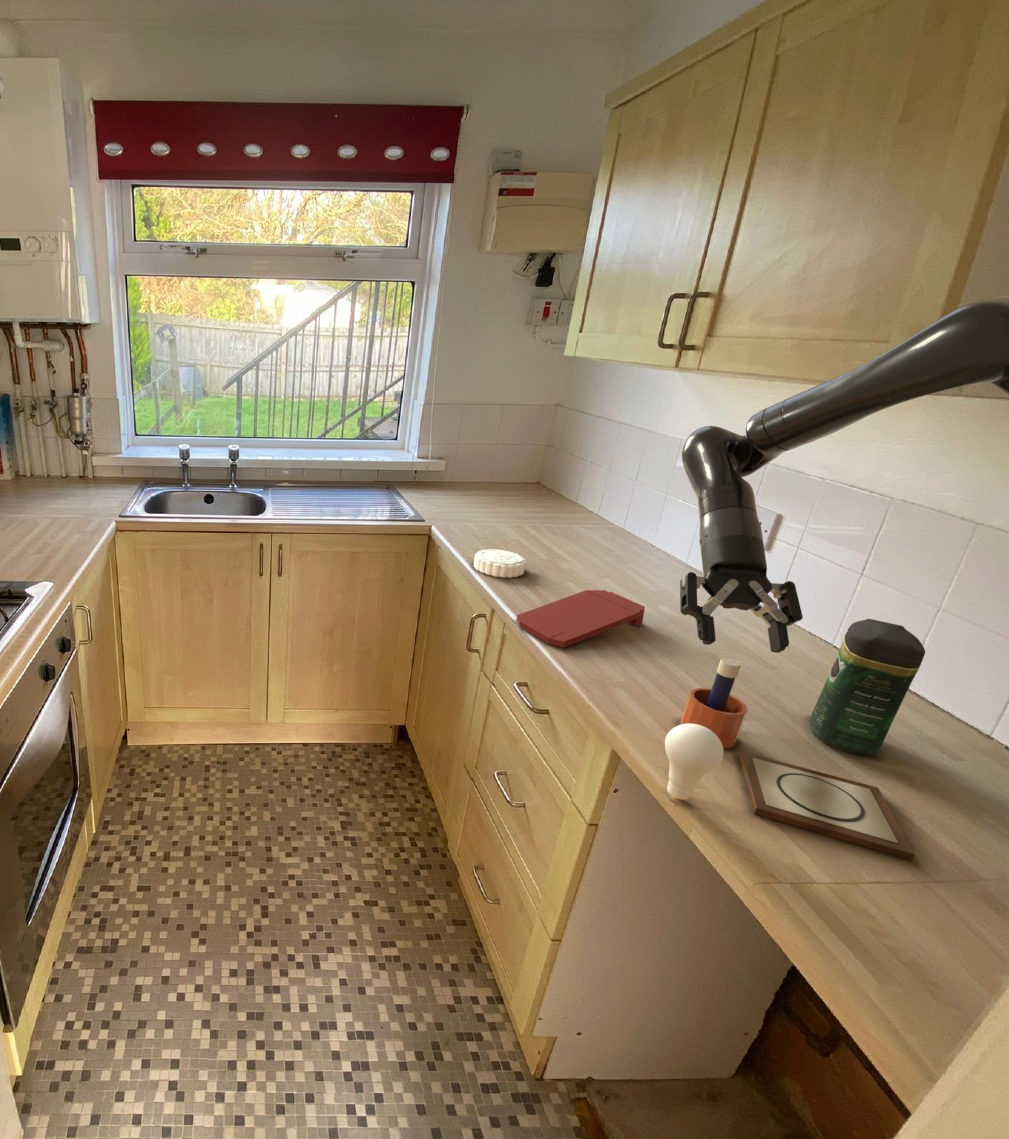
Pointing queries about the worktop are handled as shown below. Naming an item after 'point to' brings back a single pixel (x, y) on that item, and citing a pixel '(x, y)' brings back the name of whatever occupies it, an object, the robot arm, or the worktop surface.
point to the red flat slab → (580, 617)
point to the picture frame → (823, 804)
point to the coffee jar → (866, 686)
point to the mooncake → (499, 563)
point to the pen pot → (715, 716)
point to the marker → (723, 683)
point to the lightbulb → (690, 757)
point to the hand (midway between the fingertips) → (743, 647)
